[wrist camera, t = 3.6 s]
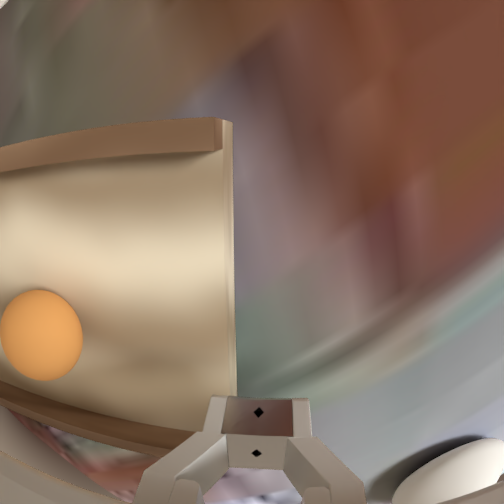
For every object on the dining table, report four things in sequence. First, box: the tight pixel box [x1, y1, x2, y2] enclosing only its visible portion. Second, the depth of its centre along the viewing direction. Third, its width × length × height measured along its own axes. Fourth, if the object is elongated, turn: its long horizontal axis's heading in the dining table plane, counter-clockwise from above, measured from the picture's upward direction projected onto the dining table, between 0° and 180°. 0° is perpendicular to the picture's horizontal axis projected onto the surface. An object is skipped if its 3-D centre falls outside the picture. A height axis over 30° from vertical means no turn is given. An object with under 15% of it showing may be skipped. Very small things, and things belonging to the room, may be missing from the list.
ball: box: [0, 290, 83, 381], centre depth 12 cm, size 4×4×4 cm
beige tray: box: [0, 117, 237, 457], centre depth 14 cm, size 16×24×4 cm, turn 90°
